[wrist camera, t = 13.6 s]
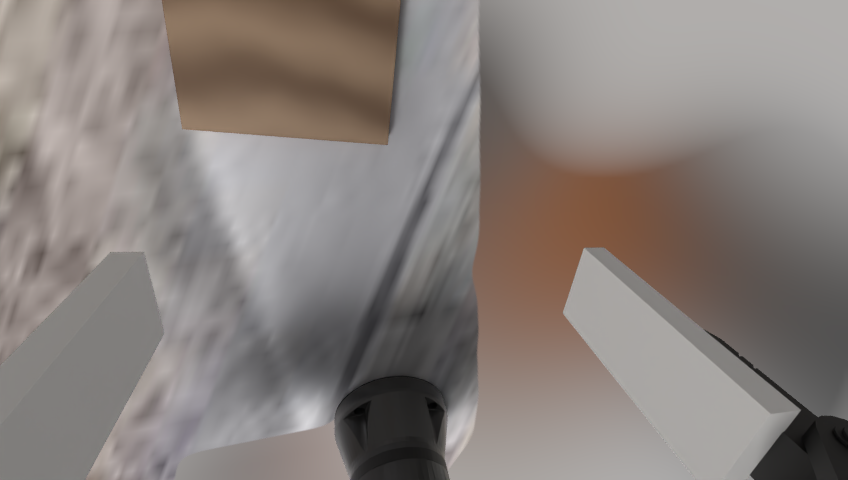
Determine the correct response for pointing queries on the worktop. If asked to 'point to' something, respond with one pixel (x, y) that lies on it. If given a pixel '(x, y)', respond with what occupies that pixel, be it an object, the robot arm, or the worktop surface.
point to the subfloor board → (285, 66)
